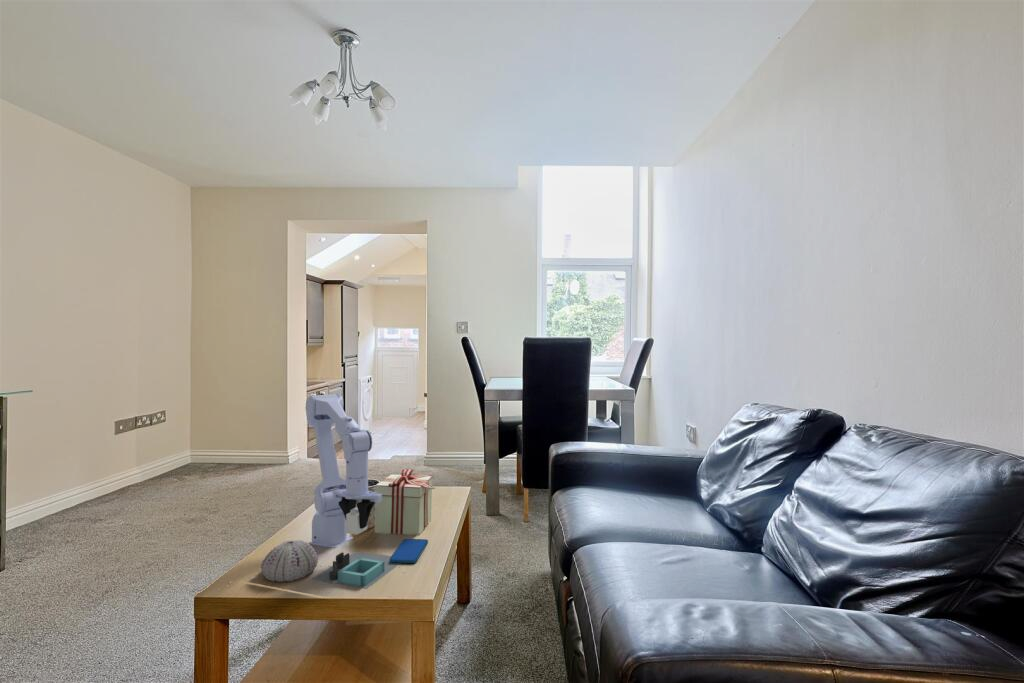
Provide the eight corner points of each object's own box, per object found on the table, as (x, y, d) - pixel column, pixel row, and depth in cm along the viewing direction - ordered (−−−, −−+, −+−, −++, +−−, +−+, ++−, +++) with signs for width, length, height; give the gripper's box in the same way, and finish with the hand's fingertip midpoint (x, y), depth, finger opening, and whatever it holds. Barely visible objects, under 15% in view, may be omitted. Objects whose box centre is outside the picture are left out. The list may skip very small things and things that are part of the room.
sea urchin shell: (326, 562, 133) (326, 532, 133) (305, 586, 120) (305, 553, 120) (276, 562, 133) (277, 532, 133) (250, 586, 120) (250, 553, 120)
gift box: (432, 536, 151) (432, 479, 152) (372, 536, 152) (372, 479, 152) (441, 517, 168) (441, 466, 169) (387, 517, 169) (387, 466, 169)
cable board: (311, 580, 122) (311, 565, 122) (356, 552, 139) (356, 539, 139) (366, 590, 117) (366, 575, 117) (406, 560, 134) (406, 546, 134)
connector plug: (346, 533, 133) (346, 510, 133) (356, 527, 137) (356, 505, 138) (357, 534, 132) (357, 511, 132) (367, 528, 136) (367, 506, 136)
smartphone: (388, 559, 131) (404, 538, 146) (388, 563, 131) (404, 542, 146) (416, 560, 131) (428, 539, 146) (416, 564, 131) (428, 542, 146)
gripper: (325, 477, 134) (324, 528, 133) (371, 482, 129) (371, 534, 129) (342, 471, 140) (342, 519, 140) (386, 475, 136) (386, 525, 135)
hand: (357, 526), depth 135 cm, fingers closed on connector plug, 3 cm apart
